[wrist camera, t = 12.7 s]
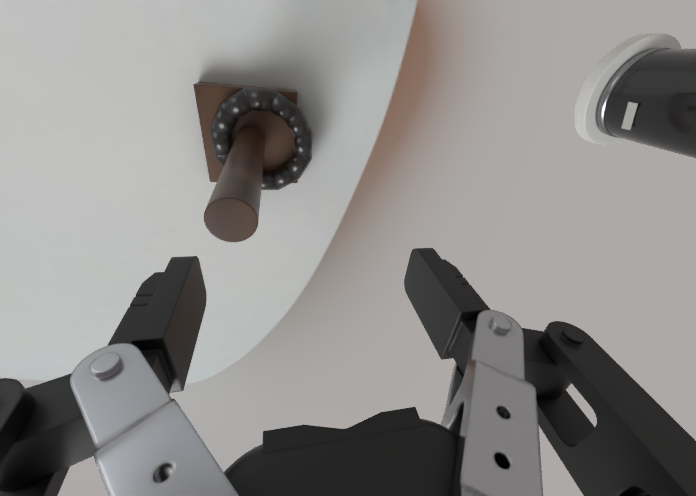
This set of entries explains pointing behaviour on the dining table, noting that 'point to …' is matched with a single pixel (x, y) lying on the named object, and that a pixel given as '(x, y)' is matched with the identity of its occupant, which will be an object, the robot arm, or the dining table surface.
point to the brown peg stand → (241, 161)
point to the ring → (280, 107)
